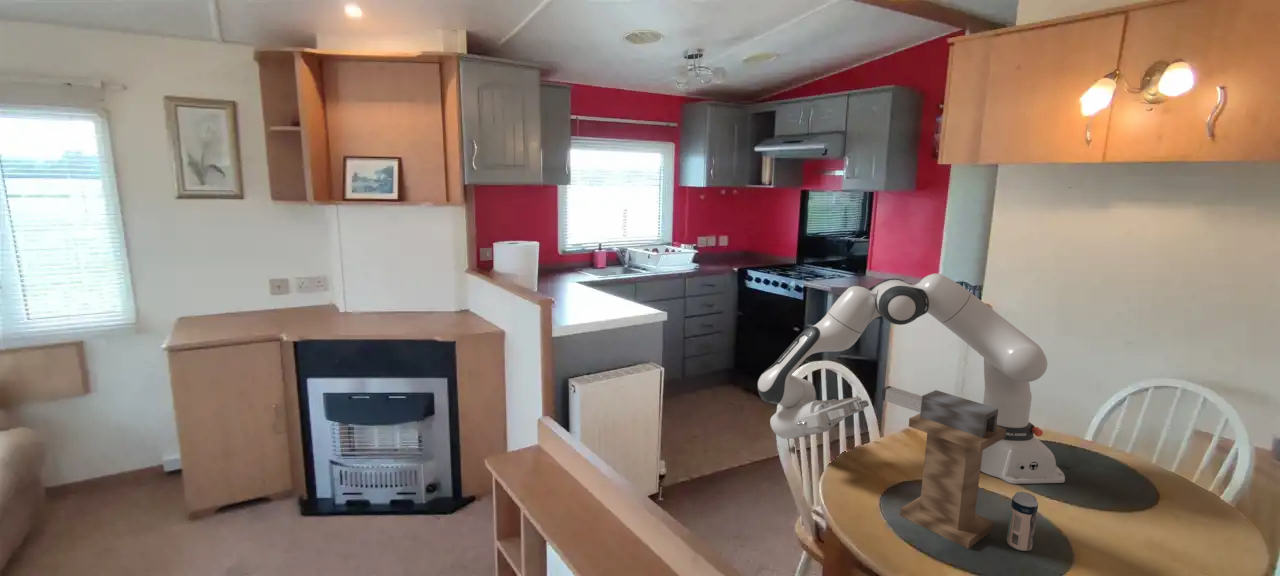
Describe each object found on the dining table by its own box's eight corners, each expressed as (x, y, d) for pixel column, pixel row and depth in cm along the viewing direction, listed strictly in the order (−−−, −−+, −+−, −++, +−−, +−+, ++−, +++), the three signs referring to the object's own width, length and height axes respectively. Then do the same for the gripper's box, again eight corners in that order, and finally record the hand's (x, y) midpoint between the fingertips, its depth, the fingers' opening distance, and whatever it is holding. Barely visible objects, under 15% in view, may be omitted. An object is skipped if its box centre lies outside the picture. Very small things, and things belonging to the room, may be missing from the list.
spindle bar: (881, 399, 150) (882, 388, 149) (888, 397, 152) (889, 385, 151) (971, 430, 133) (973, 417, 132) (978, 426, 134) (979, 414, 134)
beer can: (1035, 554, 130) (1042, 503, 128) (1011, 551, 131) (1018, 501, 129) (1026, 540, 135) (1033, 492, 132) (1002, 538, 136) (1009, 489, 133)
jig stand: (900, 515, 144) (911, 397, 139) (926, 499, 151) (938, 386, 146) (968, 548, 132) (983, 420, 126) (993, 529, 139) (1009, 407, 133)
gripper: (788, 414, 163) (827, 404, 153) (835, 398, 175) (873, 387, 165) (797, 437, 162) (836, 428, 151) (843, 419, 174) (882, 410, 163)
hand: (856, 407), depth 158 cm, fingers open, 8 cm apart
